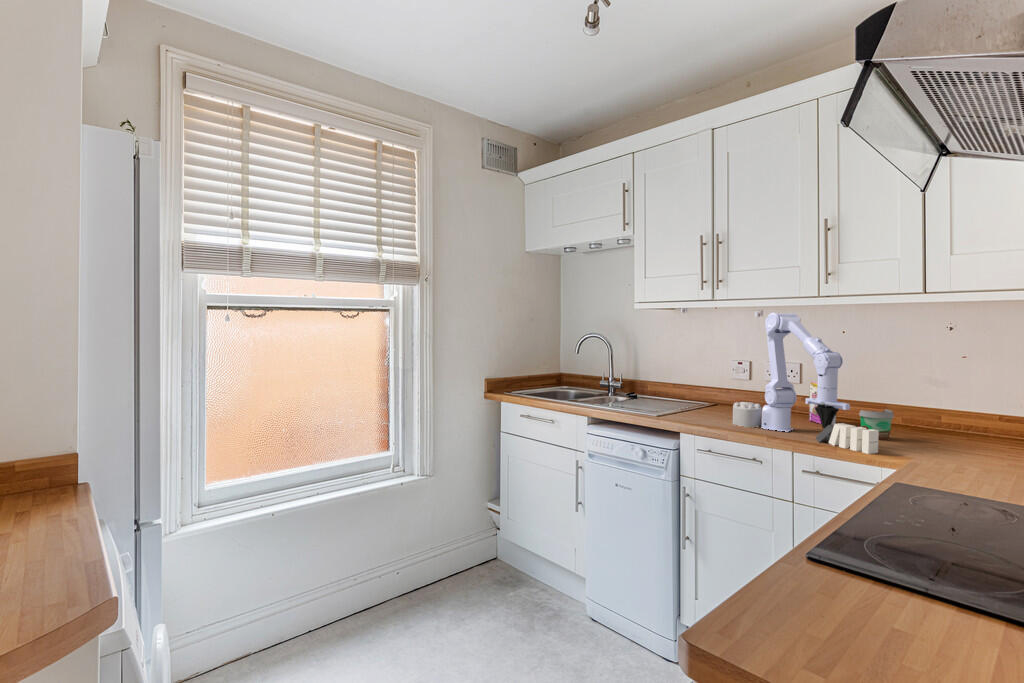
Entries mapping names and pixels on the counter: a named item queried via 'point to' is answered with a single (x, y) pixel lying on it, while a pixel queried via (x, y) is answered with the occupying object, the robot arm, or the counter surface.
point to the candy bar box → (812, 412)
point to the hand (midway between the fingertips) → (826, 428)
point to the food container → (877, 422)
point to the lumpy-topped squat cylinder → (747, 414)
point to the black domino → (825, 434)
